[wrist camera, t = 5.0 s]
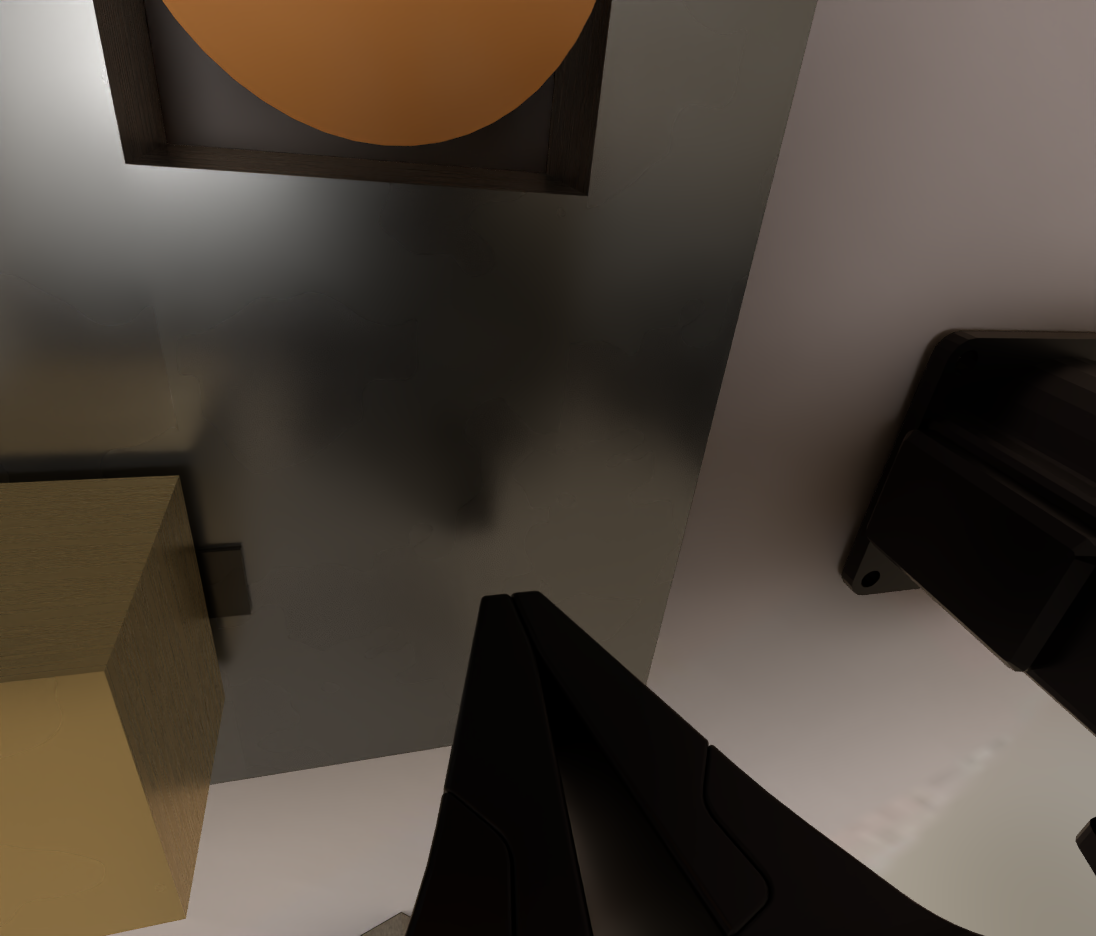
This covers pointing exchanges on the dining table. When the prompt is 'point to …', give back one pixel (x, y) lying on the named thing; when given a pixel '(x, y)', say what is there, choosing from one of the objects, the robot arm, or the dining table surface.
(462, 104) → the orange push button
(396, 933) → the beige tower stand
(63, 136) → the plate
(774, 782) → the dining table surface
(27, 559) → the tan block
